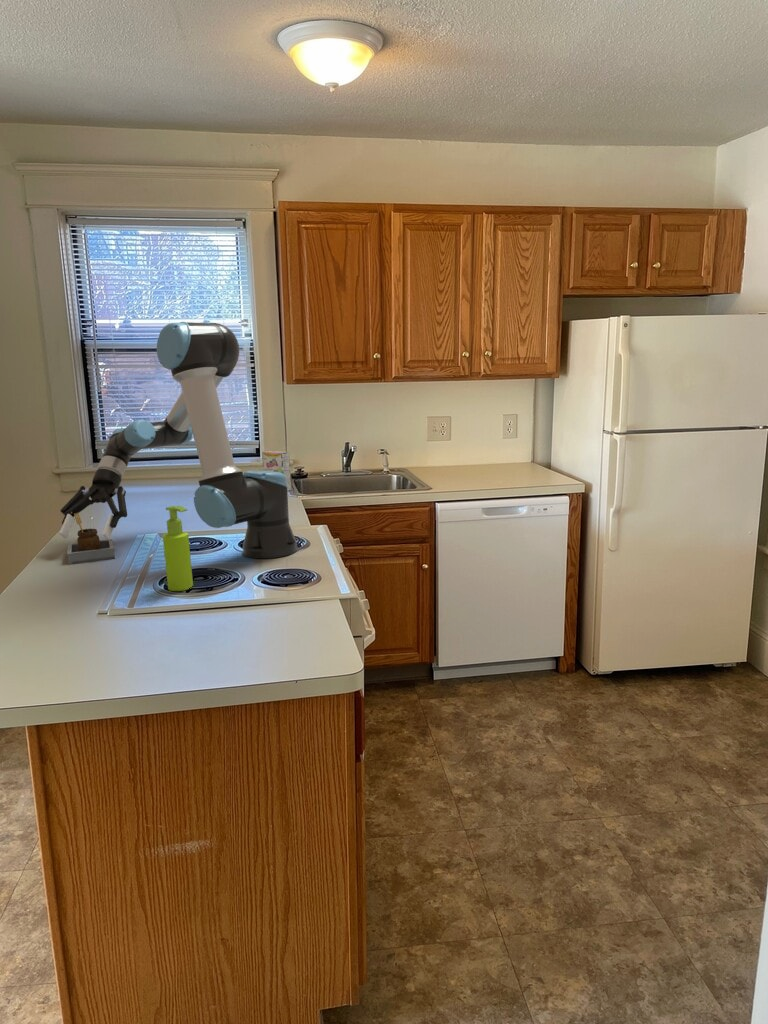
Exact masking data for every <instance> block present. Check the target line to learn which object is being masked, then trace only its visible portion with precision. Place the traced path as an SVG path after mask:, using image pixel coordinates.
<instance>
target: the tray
mask: <svg viewBox="0 0 768 1024" xmlns="http://www.w3.org/2000/svg"><path fill="white" fill-rule="evenodd" d="M99 540H100V539H99ZM113 542H114V540H113V538H110V539H102V540H100V547H101V549H97V550H89V551H80V552H79V551H78V544H77V542H75V543H68V544H67V553H66V554H67V561H68V562H67V563H68V565H73V564H74V565H75V564H82V563H89V562H90V563H91V562H97V561H98V562H100V561H104V560H105V561H106V560H115V558H116V557H115V548H114V543H113Z"/></svg>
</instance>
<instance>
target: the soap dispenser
mask: <svg viewBox="0 0 768 1024" xmlns="http://www.w3.org/2000/svg"><path fill="white" fill-rule="evenodd" d="M165 510H166V511H169V519H168V520H166V528H167V533H166V534H163V535H162V542H163V544H162V545H163V553H164V561H165V573H166V581H167V582H166V583H167V590H169V591H171V592H183V591H187V590H190V589H191V588H190V587H192V586H193V587H194V582H193V581H194V580H193V573H192V572H193V570H192V559H191V551H190V549H191V548H190V539H189V538H190V537H189V533H188V532H185V531H184V532H183V522H182V519H180V518H178V512H180V513H183V512H187V510H188V509H187V508H186V507H184V506H179V505H171V506H167V507H165ZM193 587H192V588H193ZM189 588H190V589H189Z"/></svg>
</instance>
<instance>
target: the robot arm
mask: <svg viewBox="0 0 768 1024" xmlns="http://www.w3.org/2000/svg"><path fill="white" fill-rule="evenodd" d="M156 356H157V359H158V361H159V363H160V364H161V366H162V367H163V368H165V369H167V370H170V372H171V376H172V379H173V381H176V382H177V383H179V384H180V386H181V387H180V388H181V393H180V394H179V396H178V398H177V400H176V401H175V403H174V404H173V406H172V408H171V410H170V411H169V412H168V414H167V416H166V417H165V419H164V420H162V421H154V422H150V421H148V420H145V419H141V418H140V419H137V420H135V421H133V422H131V423H129V424H128V425H127V426H126V427H124V428H123V427H121V428H116V429H114V430H113V431H112V434H111V435H110V436H109V438H108V442H107V445H106V447H105V449H104V452H103V454H102V457H101V459H100V460H99V463H98V465H97V468H96V471H95V472H94V475H93V478H92V482H91V486H90V487H85V486H84V485H81V486H80V488H79V490H78V491H77V493H76V494H74V495H73V496H72V497H71V499H69V500H68V501H67V503H66V504H64V505H63V506H62V508H61V509H60V510H59V511H60V512H61V514H62V515H63V516H64V517H63V518H62V521H61V525H62V526H61V529H60V531H59V532H58V534H59V535H60V536H62V538H64V539H68V536H69V533H70V532H71V529H72V527H73V524H74V522H75V521H76V519H75V515H76V513H79V514H80V513H81V512H82V511H84V510H85V509H86V508H87V507H89V506H92V505H93V504H95V503H96V504H99V503H102V504H104V503H107V505H108V507H109V509H110V511H111V514H109V515H108V518H107V521H106V522H105V524H104V525H105V526H104V528H103V531H102V532H101V533H102V534H101V535H102V536H103V537H104V538H105V540H108V539H111V536H112V533H113V530H114V529H115V528H117V526H118V523H119V520H120V519H121V518H127V517H128V511H127V510H128V509H127V503H126V494H127V491H126V490H125V488H124V487H123V486H122V485H121V482H122V479H123V478H124V475H125V472H126V470H127V467H128V465H129V463H130V461H131V458H132V457H133V456H134V455H135V454H137V453H138V452H140V451H141V450H146V449H153V448H160V447H161V448H162V447H167V446H179V445H182V444H187V443H189V442H191V440H192V439H194V444H195V448H196V452H197V456H198V459H199V465H200V469H201V473H202V474H201V476H200V477H199V478H198V484H199V485H198V486H199V487H198V488H196V490H195V491H194V497H193V505H194V508H195V510H196V513H197V515H198V516H199V518H200V520H201V521H202V522H203V523H205V525H207V526H208V527H211V528H214V529H221V528H228V527H232V526H234V525H239V524H241V523H245V522H246V523H247V528H246V531H245V536H244V539H243V543H242V553H243V555H244V556H246V557H248V558H254V559H272V558H273V559H274V558H281V557H286V556H289V555H293V554H294V553H295V552H297V551H298V545H297V540H296V538H295V534H294V533H293V530H292V528H291V525H290V519H289V517H290V516H289V500H288V499H289V498H288V491H287V485H286V477H285V475H284V474H283V473H280V472H272V471H263V470H245V471H244V472H243V470H242V469H241V468H239V467H237V466H236V465H235V461H234V457H233V452H232V448H231V445H230V441H229V436H228V432H227V428H226V424H225V420H224V415H223V411H222V408H221V404H220V399H219V394H218V391H217V388H218V387H219V385H220V383H221V382H222V380H223V379H224V378H227V377H230V375H231V374H232V372H233V371H234V369H235V367H236V366H237V364H238V361H239V358H240V344H239V341H238V339H237V337H236V335H235V334H234V332H233V331H232V330H231V329H230V328H228V327H227V326H225V325H224V324H221V323H217V322H186V321H180V322H170V323H167V324H166V325H164V327H162V329H161V330H160V332H159V335H158V338H157V342H156ZM115 496H116V498H117V505H118V506H116V504H115V501H114V499H113V497H115ZM74 513H75V515H74Z"/></svg>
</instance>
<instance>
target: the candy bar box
mask: <svg viewBox="0 0 768 1024" xmlns="http://www.w3.org/2000/svg"><path fill="white" fill-rule="evenodd" d="M261 455H262V457H261V458H262V469H263V470H262V471H272V472H280V473H283V474H284V475H285V477H286V485H287V492H290V491H292V479H291V478H292V477H291V464H290V461H291V459H290V451H289V452H288V451H280V450H279V451H277V450H265V451H262V452H261Z"/></svg>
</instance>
